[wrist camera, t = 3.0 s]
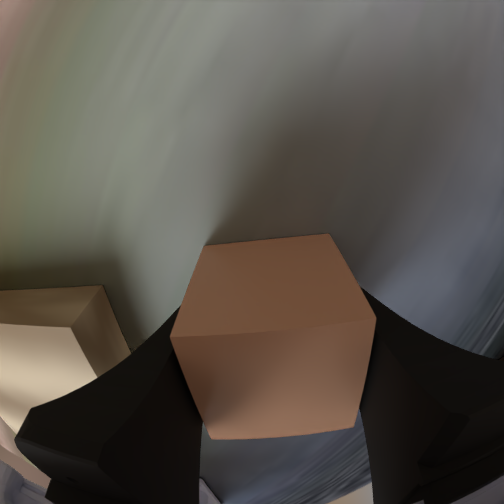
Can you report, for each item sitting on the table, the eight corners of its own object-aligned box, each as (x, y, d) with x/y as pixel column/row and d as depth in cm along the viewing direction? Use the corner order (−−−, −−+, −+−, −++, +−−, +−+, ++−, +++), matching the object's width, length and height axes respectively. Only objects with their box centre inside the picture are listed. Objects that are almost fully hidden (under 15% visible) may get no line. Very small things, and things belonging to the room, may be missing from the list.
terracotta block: (327, 331, 12) (353, 427, 8) (223, 341, 13) (211, 439, 8) (328, 233, 11) (376, 317, 6) (203, 245, 11) (169, 337, 6)
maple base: (185, 451, 17) (179, 486, 15) (43, 424, 18) (31, 449, 15) (102, 285, 12) (70, 327, 9) (-43, 292, 12) (-68, 315, 10)
